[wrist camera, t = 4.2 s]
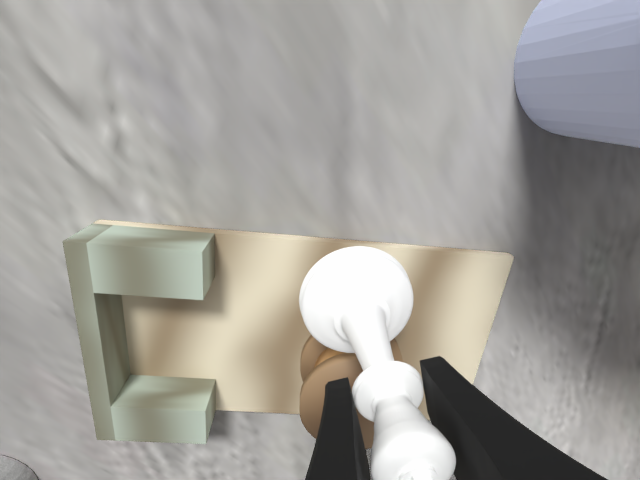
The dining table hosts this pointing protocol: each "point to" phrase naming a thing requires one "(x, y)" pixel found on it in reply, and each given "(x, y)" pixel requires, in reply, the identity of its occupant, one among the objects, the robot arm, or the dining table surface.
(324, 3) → the dining table surface
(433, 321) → the station
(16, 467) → the house plant
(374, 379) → the chess piece
